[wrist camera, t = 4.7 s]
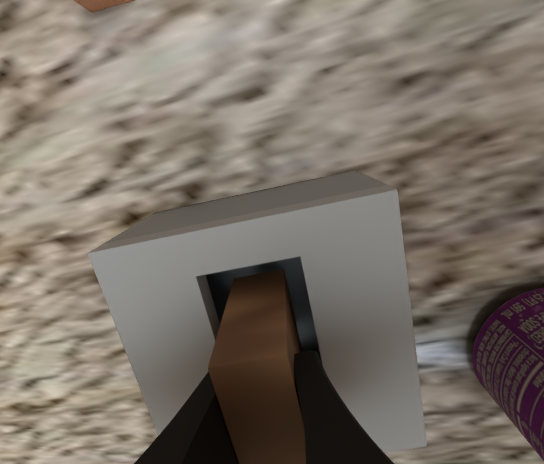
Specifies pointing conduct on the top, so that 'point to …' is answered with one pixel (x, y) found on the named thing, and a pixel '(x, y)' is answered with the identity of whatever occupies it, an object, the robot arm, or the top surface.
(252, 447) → the block
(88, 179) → the top surface
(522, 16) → the top surface
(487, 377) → the beverage can
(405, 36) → the top surface
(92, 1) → the block
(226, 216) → the coin box
